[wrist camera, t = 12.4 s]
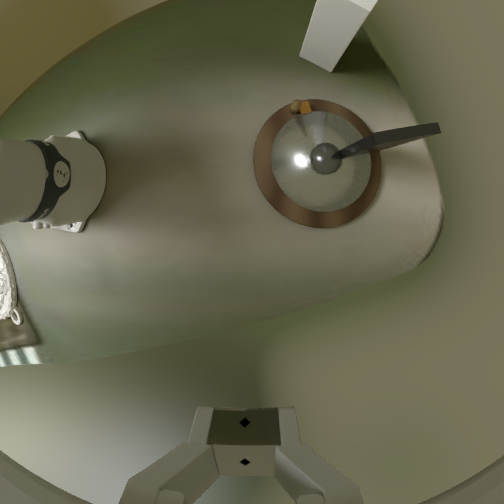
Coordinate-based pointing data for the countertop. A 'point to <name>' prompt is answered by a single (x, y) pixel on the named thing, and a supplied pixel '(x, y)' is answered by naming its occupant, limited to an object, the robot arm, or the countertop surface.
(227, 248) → the countertop surface
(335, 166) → the grey finned round piece
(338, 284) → the countertop surface
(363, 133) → the post base
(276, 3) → the countertop surface
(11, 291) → the medallion
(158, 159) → the countertop surface
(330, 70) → the milk
